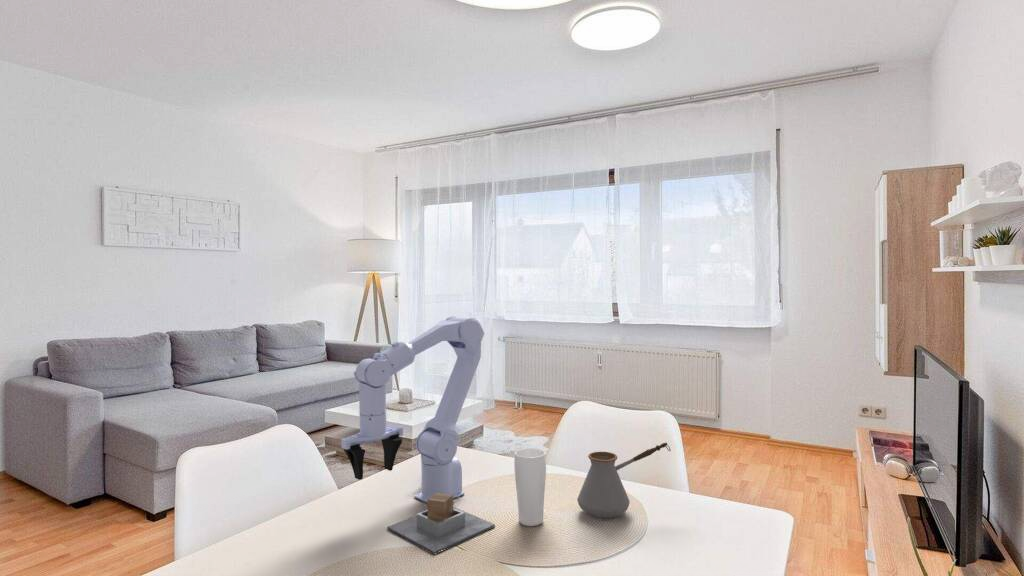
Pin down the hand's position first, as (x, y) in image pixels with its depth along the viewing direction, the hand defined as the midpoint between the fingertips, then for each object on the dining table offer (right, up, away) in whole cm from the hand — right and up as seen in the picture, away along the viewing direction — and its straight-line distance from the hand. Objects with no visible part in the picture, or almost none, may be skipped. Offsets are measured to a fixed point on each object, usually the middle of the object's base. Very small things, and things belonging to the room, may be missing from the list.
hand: (374, 473), depth 124 cm
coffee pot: (+56, -9, 0) cm, 57 cm away
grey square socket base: (+16, -9, -7) cm, 20 cm away
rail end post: (+16, -9, -7) cm, 19 cm away
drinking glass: (+35, -9, -4) cm, 36 cm away
